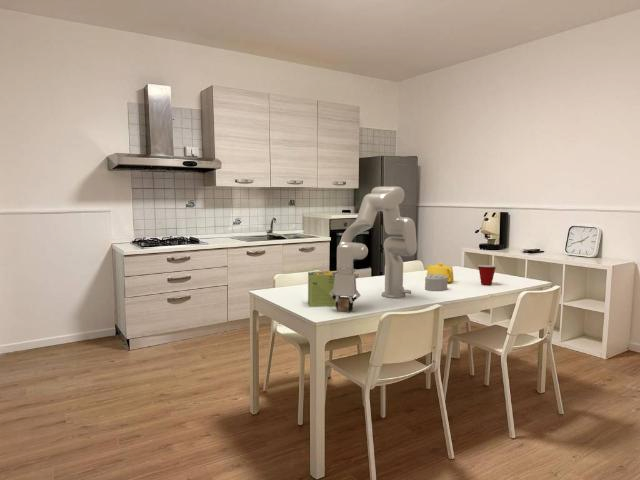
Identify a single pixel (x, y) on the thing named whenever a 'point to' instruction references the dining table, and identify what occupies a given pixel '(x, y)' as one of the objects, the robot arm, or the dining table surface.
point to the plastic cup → (486, 274)
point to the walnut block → (343, 304)
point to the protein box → (321, 288)
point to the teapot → (441, 271)
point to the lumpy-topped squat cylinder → (435, 282)
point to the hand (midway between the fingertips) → (344, 309)
